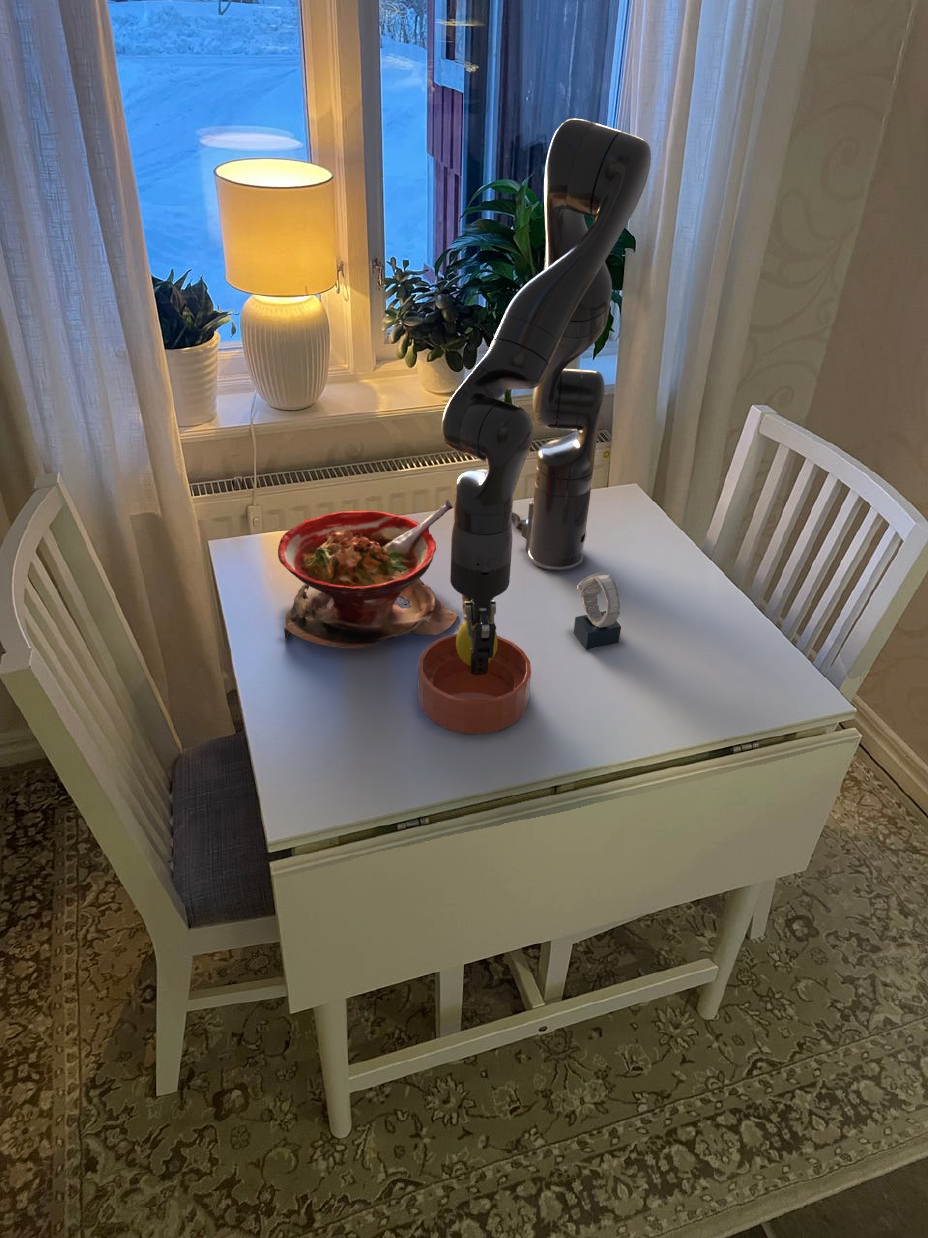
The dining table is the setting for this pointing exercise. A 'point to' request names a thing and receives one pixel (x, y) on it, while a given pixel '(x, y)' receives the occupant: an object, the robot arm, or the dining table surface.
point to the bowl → (473, 687)
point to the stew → (362, 578)
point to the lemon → (468, 644)
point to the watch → (598, 612)
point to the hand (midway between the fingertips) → (476, 658)
